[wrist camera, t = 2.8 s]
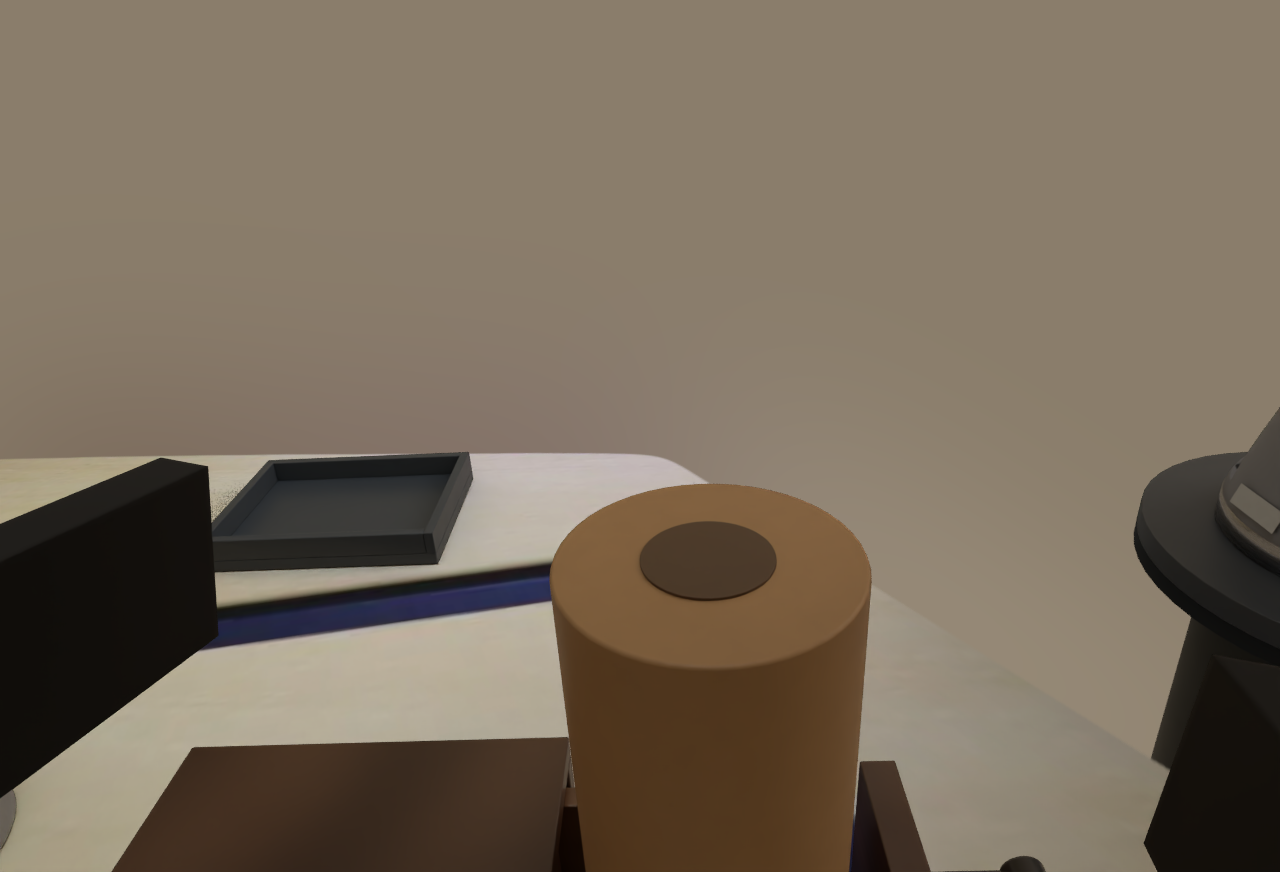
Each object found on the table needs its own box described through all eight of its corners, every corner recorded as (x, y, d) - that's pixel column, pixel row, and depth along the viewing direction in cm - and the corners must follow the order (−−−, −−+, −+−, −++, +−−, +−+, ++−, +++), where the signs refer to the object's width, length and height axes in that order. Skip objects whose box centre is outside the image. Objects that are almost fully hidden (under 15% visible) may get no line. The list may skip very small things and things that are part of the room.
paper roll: (813, 910, 29) (836, 475, 21) (857, 1155, 22) (911, 659, 15) (611, 913, 29) (565, 485, 22) (598, 1157, 23) (527, 670, 15)
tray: (473, 478, 63) (469, 451, 62) (438, 563, 53) (432, 533, 52) (275, 486, 64) (268, 460, 63) (203, 572, 53) (193, 541, 52)
